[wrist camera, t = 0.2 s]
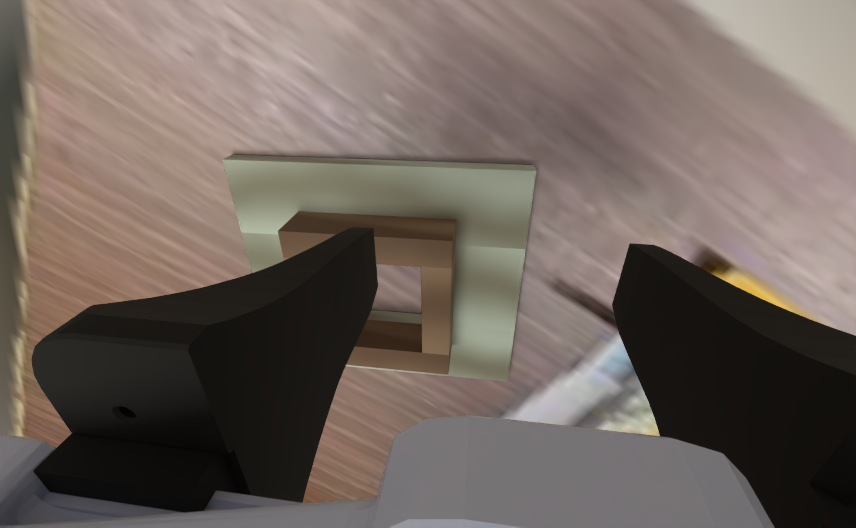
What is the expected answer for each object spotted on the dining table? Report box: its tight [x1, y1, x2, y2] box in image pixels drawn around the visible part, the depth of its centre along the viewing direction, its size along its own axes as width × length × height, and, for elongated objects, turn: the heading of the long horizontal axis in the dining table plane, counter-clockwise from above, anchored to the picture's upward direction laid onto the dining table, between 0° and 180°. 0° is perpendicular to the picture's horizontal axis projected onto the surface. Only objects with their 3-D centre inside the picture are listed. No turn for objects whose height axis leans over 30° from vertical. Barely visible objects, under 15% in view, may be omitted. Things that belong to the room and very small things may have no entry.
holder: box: [222, 155, 536, 382], centre depth 23 cm, size 14×16×4 cm
